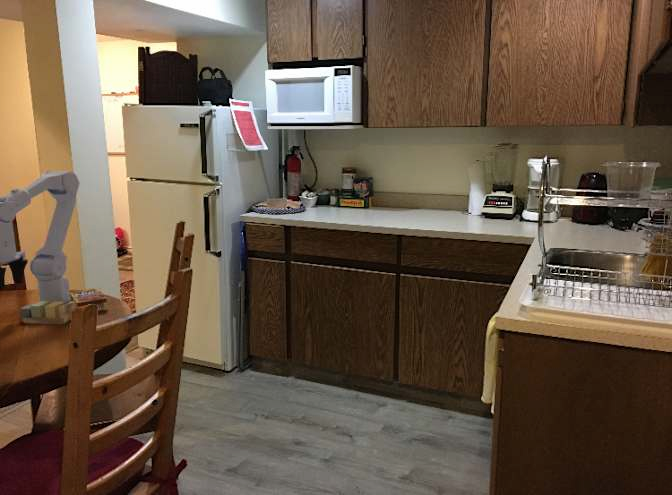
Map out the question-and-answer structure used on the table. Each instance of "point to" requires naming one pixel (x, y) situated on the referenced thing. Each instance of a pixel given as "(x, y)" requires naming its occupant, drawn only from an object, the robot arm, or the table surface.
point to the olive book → (39, 309)
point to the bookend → (26, 311)
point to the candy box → (89, 298)
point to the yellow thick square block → (53, 309)
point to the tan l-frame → (64, 317)
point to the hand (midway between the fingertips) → (9, 286)
